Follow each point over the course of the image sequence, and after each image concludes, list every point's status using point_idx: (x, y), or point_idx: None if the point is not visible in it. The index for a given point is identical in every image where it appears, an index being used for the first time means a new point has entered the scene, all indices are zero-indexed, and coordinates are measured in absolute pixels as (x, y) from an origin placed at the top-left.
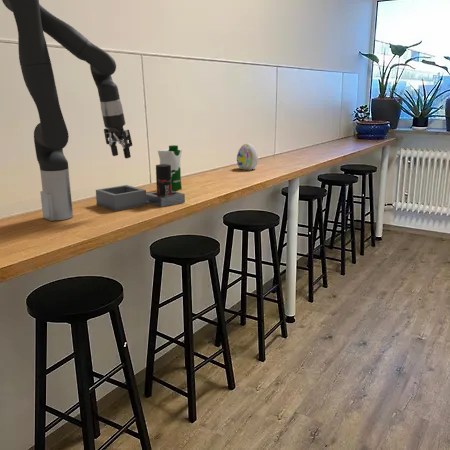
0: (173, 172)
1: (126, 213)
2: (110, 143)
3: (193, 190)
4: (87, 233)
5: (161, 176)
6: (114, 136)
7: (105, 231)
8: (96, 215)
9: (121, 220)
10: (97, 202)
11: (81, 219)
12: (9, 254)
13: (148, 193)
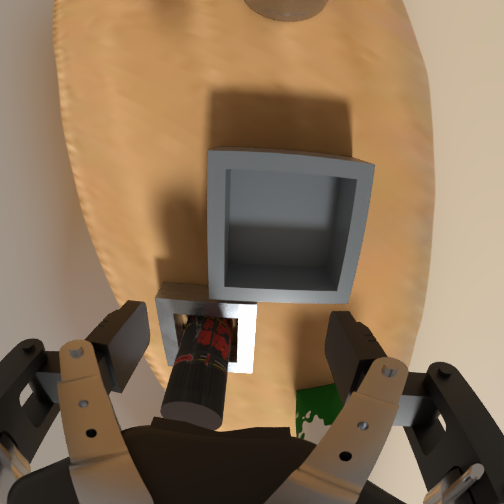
0: (300, 435)
1: (165, 158)
2: (375, 384)
3: (267, 416)
4: (84, 5)
5: (177, 371)
6: (127, 470)
7: (66, 41)
8: (215, 71)
9: (109, 107)
10: (349, 157)
11: (207, 19)
12: None
13: (247, 315)
